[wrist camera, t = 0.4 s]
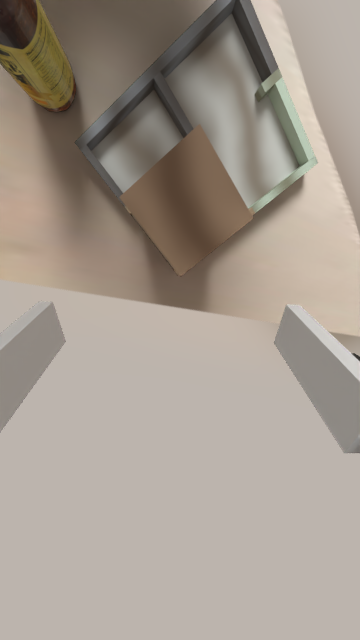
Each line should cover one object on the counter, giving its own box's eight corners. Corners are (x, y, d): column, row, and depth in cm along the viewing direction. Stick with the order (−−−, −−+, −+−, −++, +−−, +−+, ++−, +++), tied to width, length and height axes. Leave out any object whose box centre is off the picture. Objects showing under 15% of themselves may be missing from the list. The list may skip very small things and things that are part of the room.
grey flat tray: (176, 272, 36) (177, 275, 33) (82, 152, 29) (74, 142, 26) (304, 170, 32) (318, 163, 30) (231, 5, 26) (240, -24, 23)
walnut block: (171, 262, 34) (180, 276, 19) (138, 218, 32) (118, 197, 17) (211, 229, 33) (253, 218, 18) (180, 181, 31) (199, 123, 16)
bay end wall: (295, 168, 32) (308, 161, 29) (263, 98, 29) (275, 83, 26) (301, 163, 32) (314, 155, 29) (270, 93, 29) (282, 76, 26)
